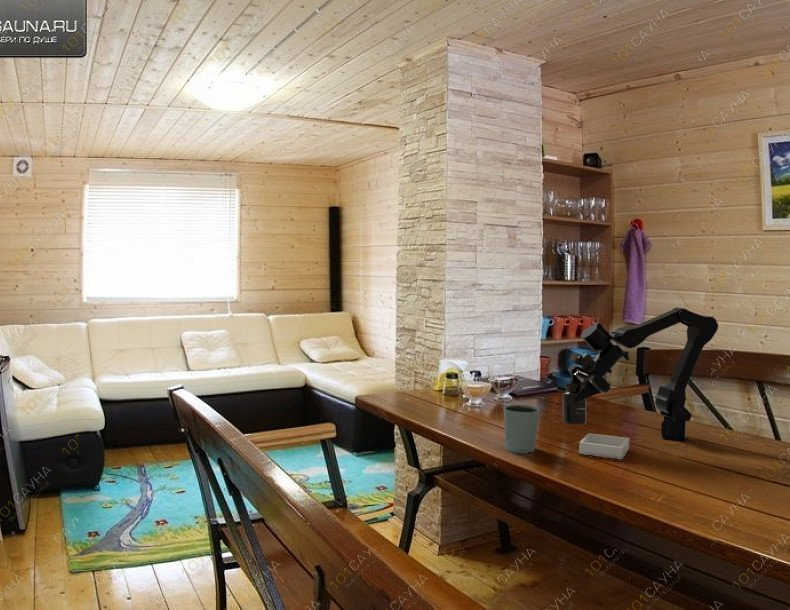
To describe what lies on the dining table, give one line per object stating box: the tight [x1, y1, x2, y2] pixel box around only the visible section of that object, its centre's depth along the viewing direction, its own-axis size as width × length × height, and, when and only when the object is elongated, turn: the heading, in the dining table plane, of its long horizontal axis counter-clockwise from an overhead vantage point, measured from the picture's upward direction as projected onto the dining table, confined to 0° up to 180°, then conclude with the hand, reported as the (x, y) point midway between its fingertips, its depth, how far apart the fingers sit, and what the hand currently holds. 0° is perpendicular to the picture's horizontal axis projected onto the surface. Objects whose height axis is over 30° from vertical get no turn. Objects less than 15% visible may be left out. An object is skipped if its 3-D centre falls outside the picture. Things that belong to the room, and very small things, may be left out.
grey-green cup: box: [503, 404, 540, 454], centre depth 194 cm, size 10×10×12 cm
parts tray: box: [578, 432, 630, 460], centre depth 191 cm, size 12×12×4 cm
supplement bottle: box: [562, 382, 587, 425], centre depth 201 cm, size 7×7×12 cm
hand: (569, 398), depth 201 cm, fingers closed on supplement bottle, 7 cm apart
